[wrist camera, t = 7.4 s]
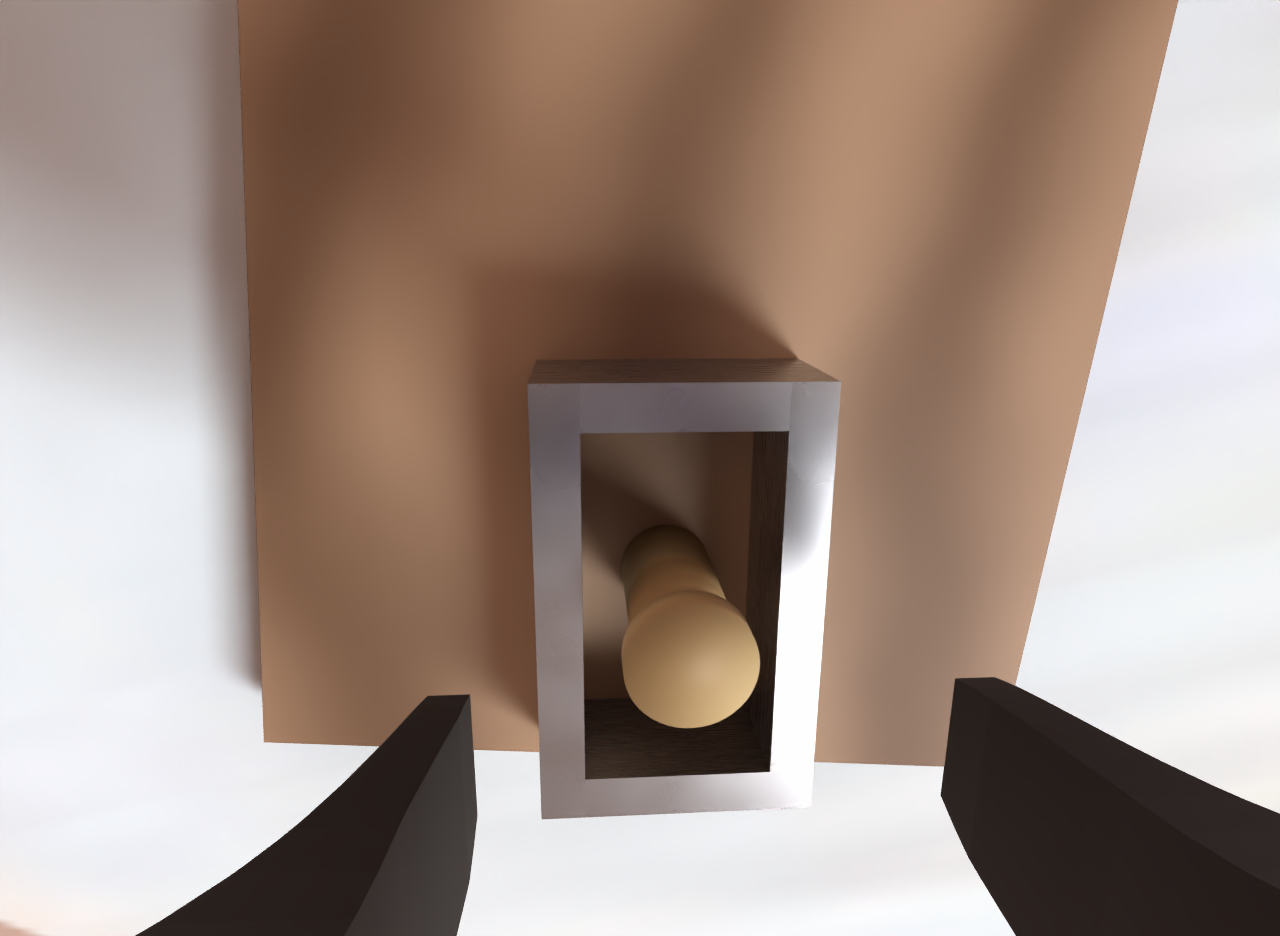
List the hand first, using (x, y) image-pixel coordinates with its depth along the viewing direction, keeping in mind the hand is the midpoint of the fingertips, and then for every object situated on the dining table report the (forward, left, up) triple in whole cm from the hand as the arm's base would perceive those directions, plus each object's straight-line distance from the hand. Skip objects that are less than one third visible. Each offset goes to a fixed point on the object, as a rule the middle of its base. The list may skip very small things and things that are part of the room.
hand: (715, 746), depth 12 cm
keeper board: (0, -7, -8) cm, 11 cm away
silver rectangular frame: (0, 0, -7) cm, 7 cm away
